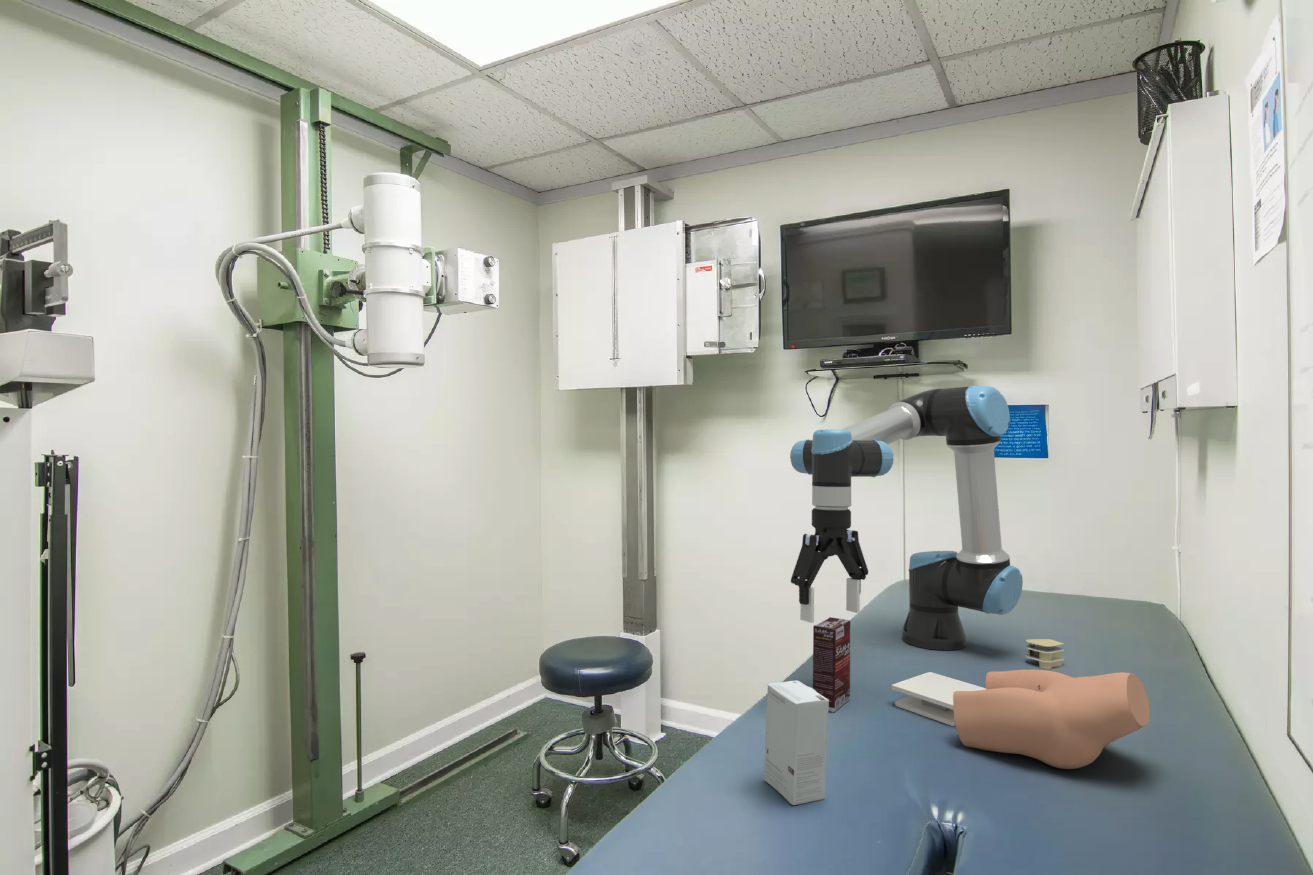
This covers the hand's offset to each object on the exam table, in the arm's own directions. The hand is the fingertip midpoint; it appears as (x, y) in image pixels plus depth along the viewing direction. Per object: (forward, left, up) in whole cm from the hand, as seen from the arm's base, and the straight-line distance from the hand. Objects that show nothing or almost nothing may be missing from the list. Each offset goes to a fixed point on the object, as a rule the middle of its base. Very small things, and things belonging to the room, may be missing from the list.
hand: (830, 616), depth 135 cm
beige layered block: (-58, +13, -18) cm, 62 cm away
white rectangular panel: (-15, +14, -17) cm, 27 cm away
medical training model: (-13, +35, -18) cm, 42 cm away
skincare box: (+31, +19, -17) cm, 40 cm away
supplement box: (0, 0, -17) cm, 17 cm away
